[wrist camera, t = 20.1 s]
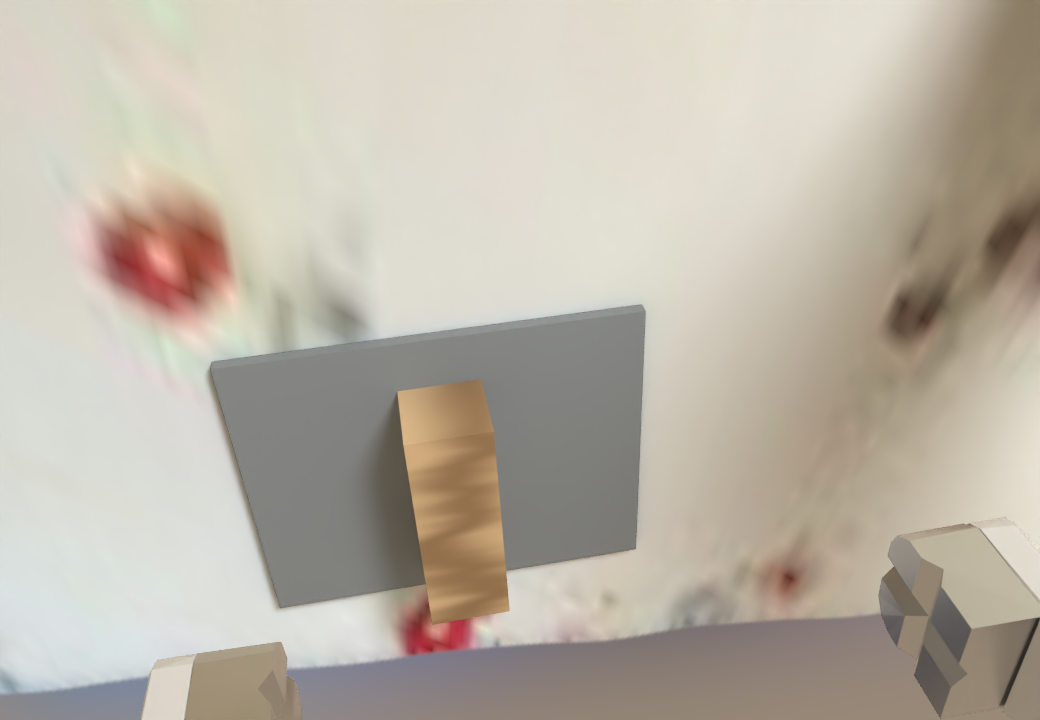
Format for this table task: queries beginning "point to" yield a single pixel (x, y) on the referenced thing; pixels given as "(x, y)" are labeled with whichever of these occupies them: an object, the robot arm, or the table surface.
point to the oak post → (455, 498)
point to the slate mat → (381, 458)
